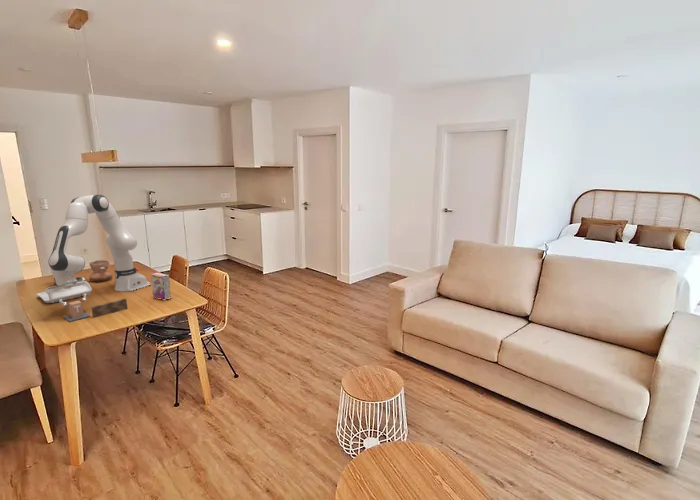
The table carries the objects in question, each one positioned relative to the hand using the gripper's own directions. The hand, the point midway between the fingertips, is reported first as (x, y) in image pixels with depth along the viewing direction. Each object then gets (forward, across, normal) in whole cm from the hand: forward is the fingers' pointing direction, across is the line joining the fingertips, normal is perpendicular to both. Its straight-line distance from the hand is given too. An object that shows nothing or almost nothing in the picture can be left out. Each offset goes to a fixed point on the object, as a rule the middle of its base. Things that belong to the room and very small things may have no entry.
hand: (75, 303), depth 218 cm
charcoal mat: (+6, 0, +5) cm, 8 cm away
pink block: (+6, 0, +4) cm, 7 cm away
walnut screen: (+11, +14, 0) cm, 18 cm away
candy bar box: (+11, +46, +1) cm, 47 cm away
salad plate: (-24, +5, +36) cm, 44 cm away
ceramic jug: (-39, +36, +51) cm, 74 cm away
